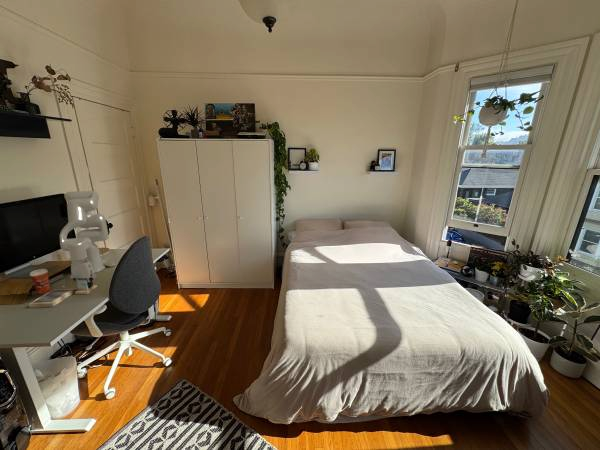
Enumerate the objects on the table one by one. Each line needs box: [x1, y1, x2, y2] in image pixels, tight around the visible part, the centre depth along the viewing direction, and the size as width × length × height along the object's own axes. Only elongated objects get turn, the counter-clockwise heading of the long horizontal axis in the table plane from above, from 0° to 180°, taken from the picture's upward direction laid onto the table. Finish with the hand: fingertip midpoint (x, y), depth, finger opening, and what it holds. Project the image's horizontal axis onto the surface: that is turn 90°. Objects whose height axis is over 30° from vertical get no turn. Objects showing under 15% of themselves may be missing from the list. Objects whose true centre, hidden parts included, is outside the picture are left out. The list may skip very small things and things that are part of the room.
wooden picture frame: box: [28, 288, 76, 309], centre depth 143 cm, size 16×12×2 cm
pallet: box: [74, 278, 98, 295], centre depth 153 cm, size 9×7×8 cm
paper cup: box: [29, 268, 51, 295], centre depth 150 cm, size 8×8×14 cm
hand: (85, 286), depth 153 cm, fingers closed on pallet, 5 cm apart
